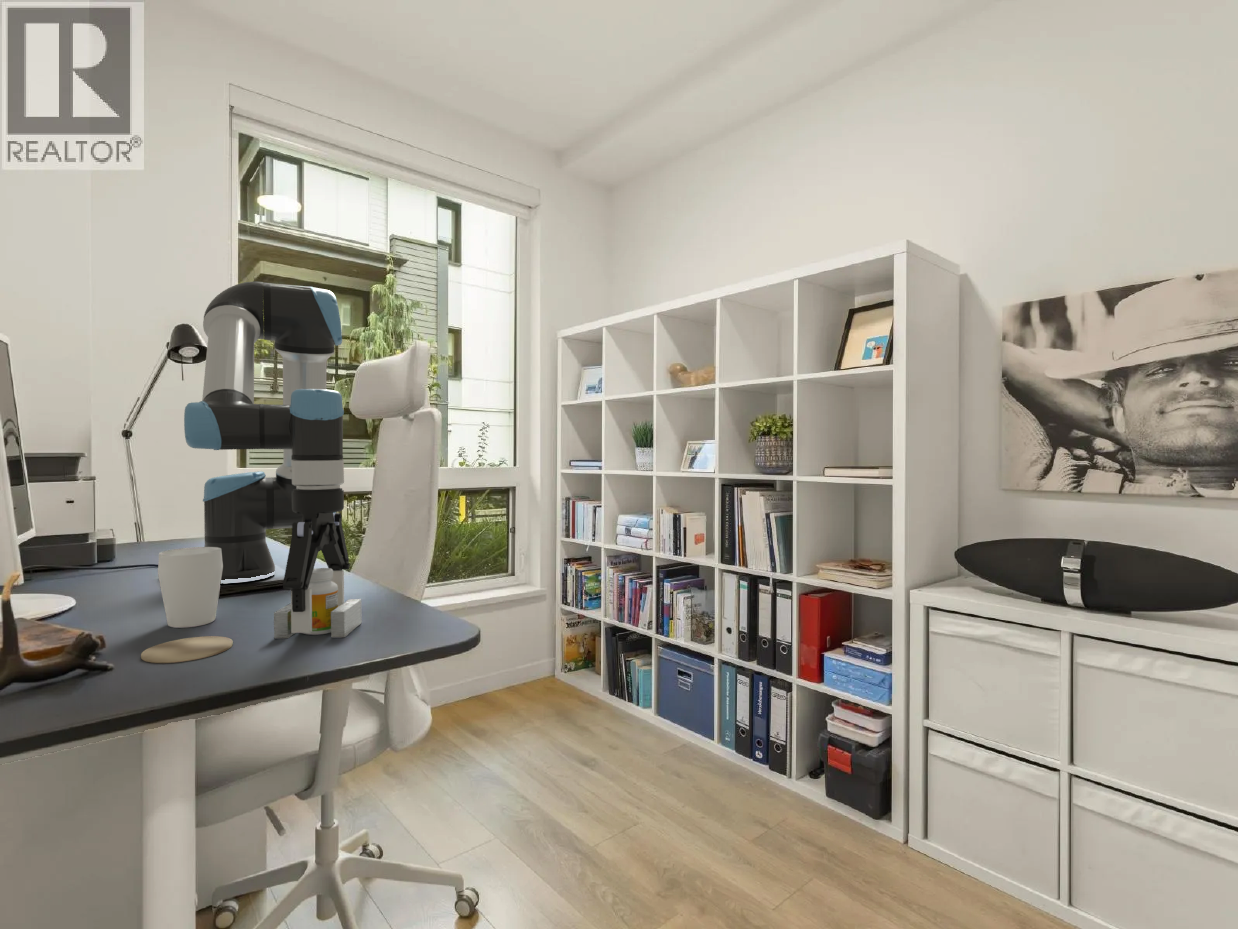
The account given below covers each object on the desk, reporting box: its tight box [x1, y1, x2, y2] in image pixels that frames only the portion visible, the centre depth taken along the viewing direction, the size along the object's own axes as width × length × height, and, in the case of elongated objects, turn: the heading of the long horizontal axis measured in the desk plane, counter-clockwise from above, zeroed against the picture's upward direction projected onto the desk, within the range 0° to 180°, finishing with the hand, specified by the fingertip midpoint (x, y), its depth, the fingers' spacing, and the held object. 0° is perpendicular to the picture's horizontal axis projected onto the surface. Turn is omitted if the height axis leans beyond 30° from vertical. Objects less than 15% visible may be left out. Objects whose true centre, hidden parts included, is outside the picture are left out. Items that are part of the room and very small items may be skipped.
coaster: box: [140, 635, 234, 664], centre depth 93 cm, size 11×11×1 cm
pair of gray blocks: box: [273, 598, 363, 640], centre depth 103 cm, size 8×10×4 cm
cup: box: [157, 546, 223, 629], centre depth 107 cm, size 9×9×12 cm
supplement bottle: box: [302, 567, 338, 636], centre depth 103 cm, size 5×5×10 cm
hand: (319, 620), depth 103 cm, fingers open, 13 cm apart
